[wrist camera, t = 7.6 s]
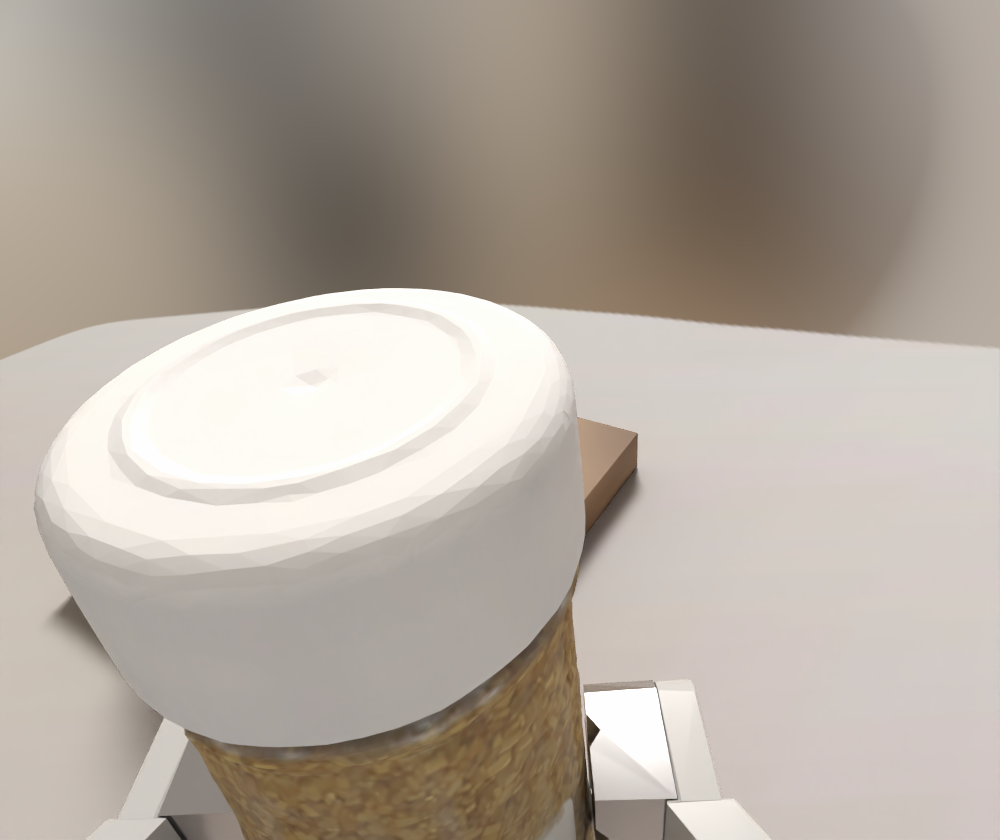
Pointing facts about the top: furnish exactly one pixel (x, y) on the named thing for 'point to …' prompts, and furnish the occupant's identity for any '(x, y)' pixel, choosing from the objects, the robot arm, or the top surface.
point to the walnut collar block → (604, 464)
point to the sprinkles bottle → (344, 563)
